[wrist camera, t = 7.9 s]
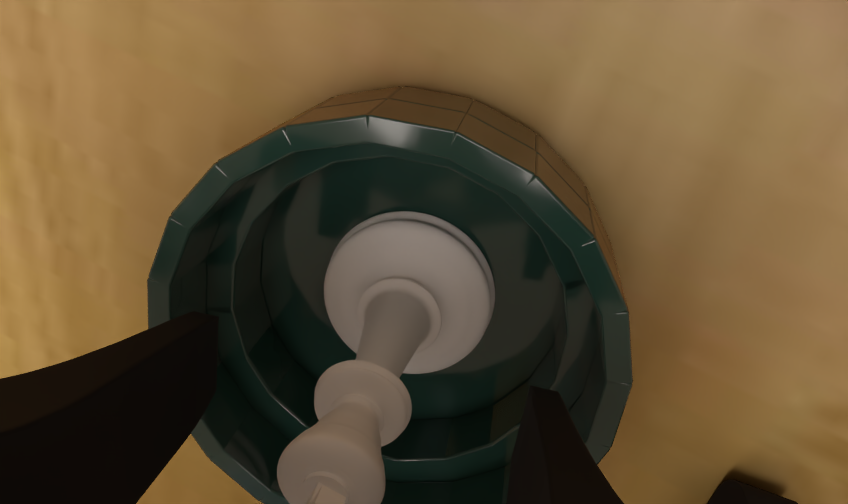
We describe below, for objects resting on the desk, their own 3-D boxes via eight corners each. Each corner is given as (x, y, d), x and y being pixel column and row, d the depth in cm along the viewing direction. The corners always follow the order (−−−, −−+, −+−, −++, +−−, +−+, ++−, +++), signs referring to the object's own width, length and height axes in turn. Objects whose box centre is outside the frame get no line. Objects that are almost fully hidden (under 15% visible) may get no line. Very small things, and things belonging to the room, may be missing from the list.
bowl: (558, 476, 22) (563, 593, 18) (221, 398, 23) (151, 491, 19) (663, 128, 17) (702, 177, 13) (233, 49, 18) (141, 71, 14)
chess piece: (301, 311, 20) (102, 590, 11) (374, 177, 18) (204, 383, 9) (441, 391, 20) (361, 726, 11) (528, 268, 18) (515, 556, 9)
